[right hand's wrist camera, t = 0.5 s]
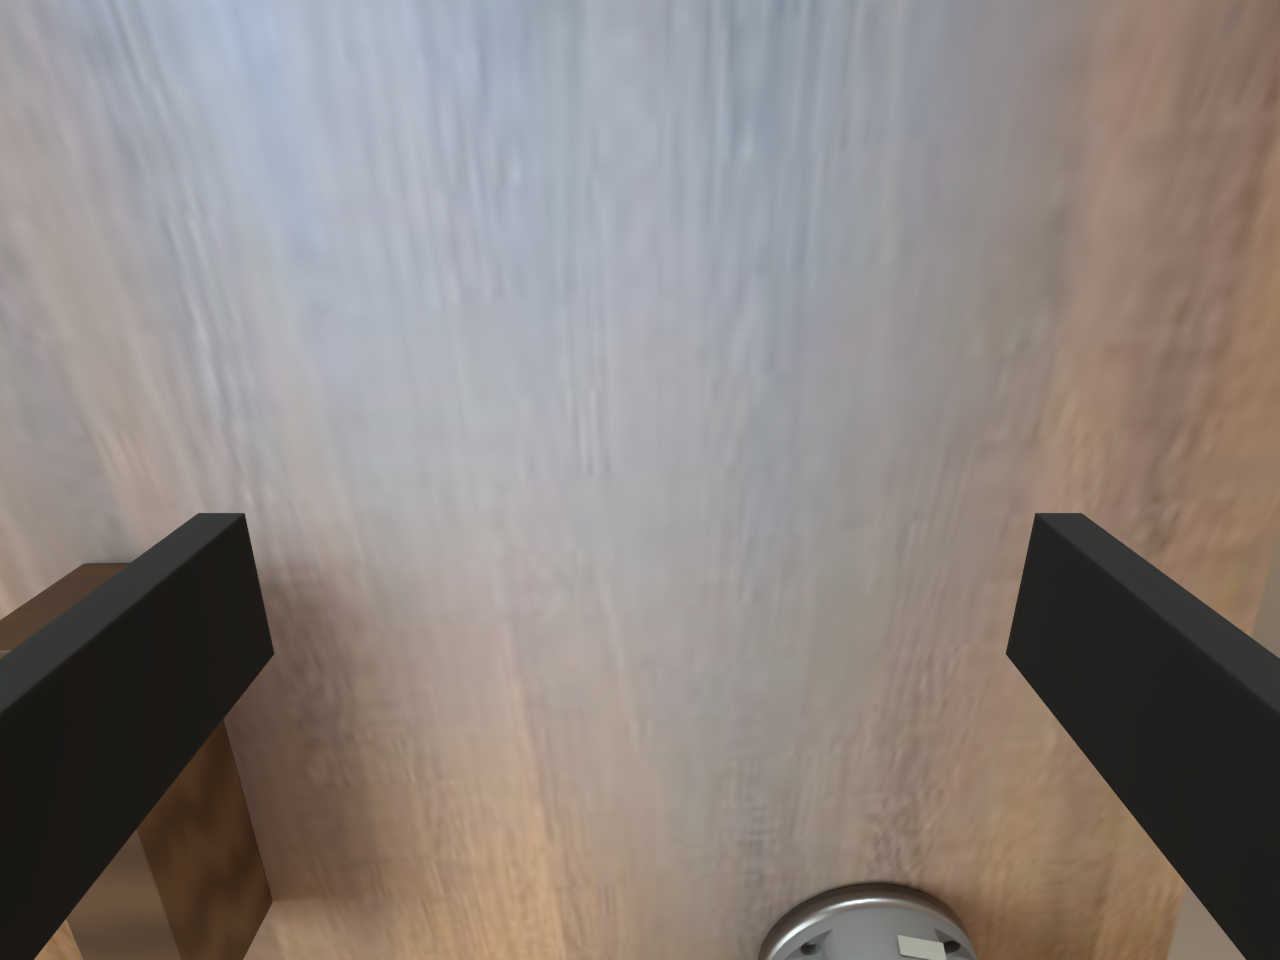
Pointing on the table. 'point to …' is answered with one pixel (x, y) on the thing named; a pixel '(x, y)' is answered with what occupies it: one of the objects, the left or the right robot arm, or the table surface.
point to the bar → (166, 842)
